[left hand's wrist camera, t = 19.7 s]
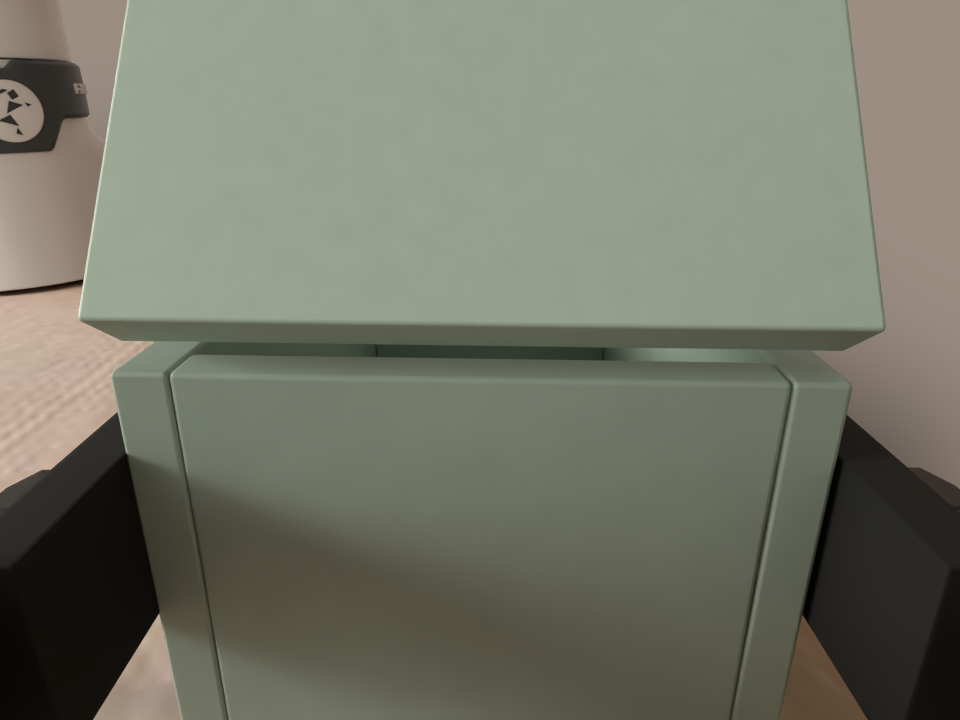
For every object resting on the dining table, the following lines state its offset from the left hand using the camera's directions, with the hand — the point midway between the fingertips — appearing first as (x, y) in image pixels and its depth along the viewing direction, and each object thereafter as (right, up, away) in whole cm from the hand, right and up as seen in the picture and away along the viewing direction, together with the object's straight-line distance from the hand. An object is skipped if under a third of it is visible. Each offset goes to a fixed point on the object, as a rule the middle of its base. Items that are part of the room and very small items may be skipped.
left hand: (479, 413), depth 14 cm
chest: (0, -4, +5) cm, 7 cm away
